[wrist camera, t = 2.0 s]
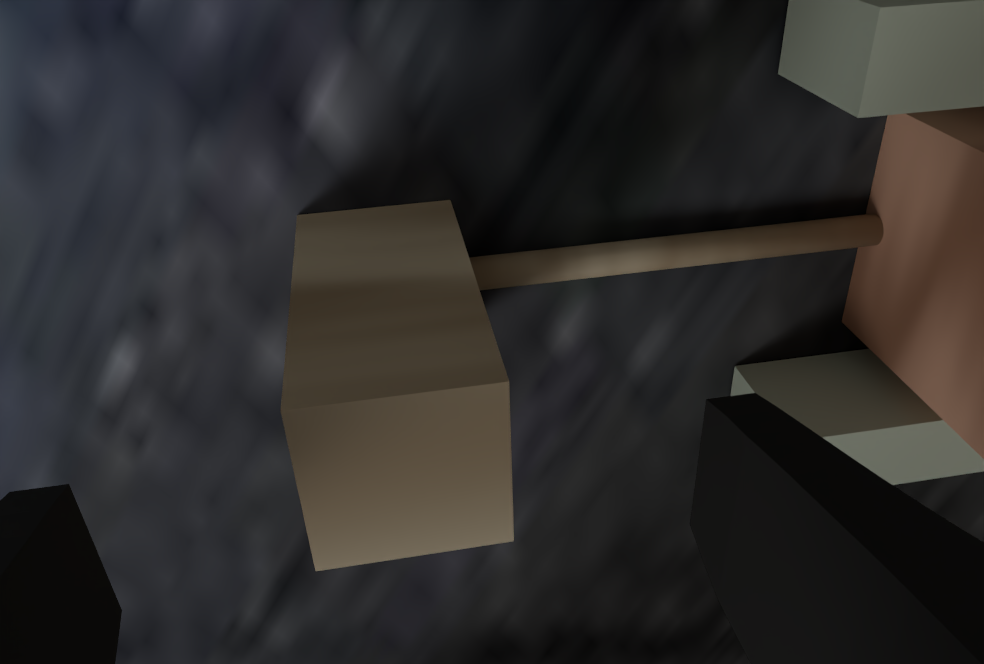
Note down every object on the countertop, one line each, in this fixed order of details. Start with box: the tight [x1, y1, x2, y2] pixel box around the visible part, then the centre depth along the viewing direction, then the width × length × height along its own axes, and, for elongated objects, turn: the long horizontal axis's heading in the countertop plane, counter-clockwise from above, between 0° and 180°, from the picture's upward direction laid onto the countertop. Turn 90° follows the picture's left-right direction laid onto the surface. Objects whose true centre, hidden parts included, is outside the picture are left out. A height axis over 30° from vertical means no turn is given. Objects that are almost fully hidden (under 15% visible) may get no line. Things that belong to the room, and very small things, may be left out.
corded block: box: [281, 106, 984, 571], centre depth 13 cm, size 4×15×6 cm, turn 92°
